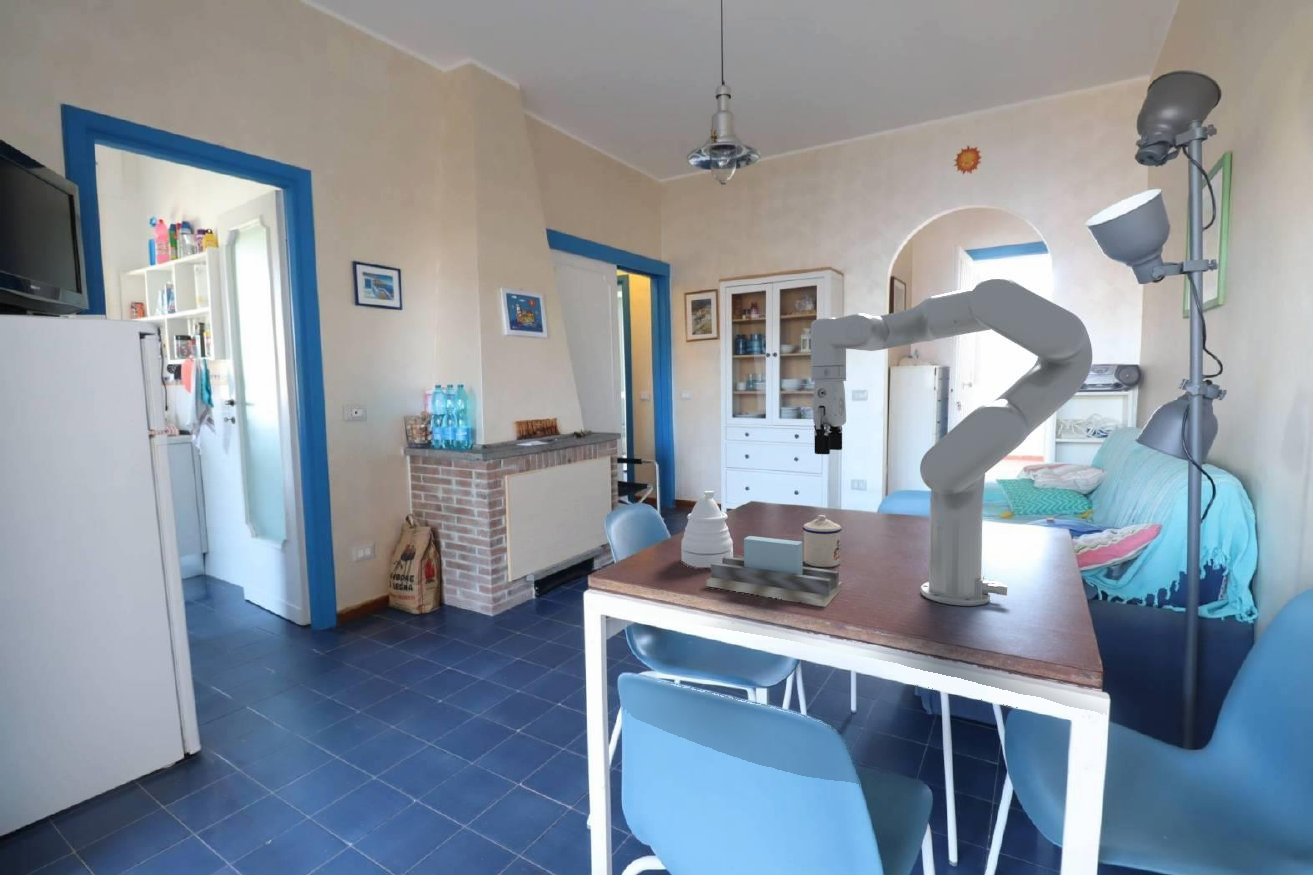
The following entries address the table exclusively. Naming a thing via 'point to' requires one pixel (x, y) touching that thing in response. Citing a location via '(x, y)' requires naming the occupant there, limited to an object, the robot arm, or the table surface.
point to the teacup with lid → (822, 543)
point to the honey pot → (706, 534)
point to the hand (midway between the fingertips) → (828, 451)
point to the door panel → (773, 554)
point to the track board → (776, 582)
